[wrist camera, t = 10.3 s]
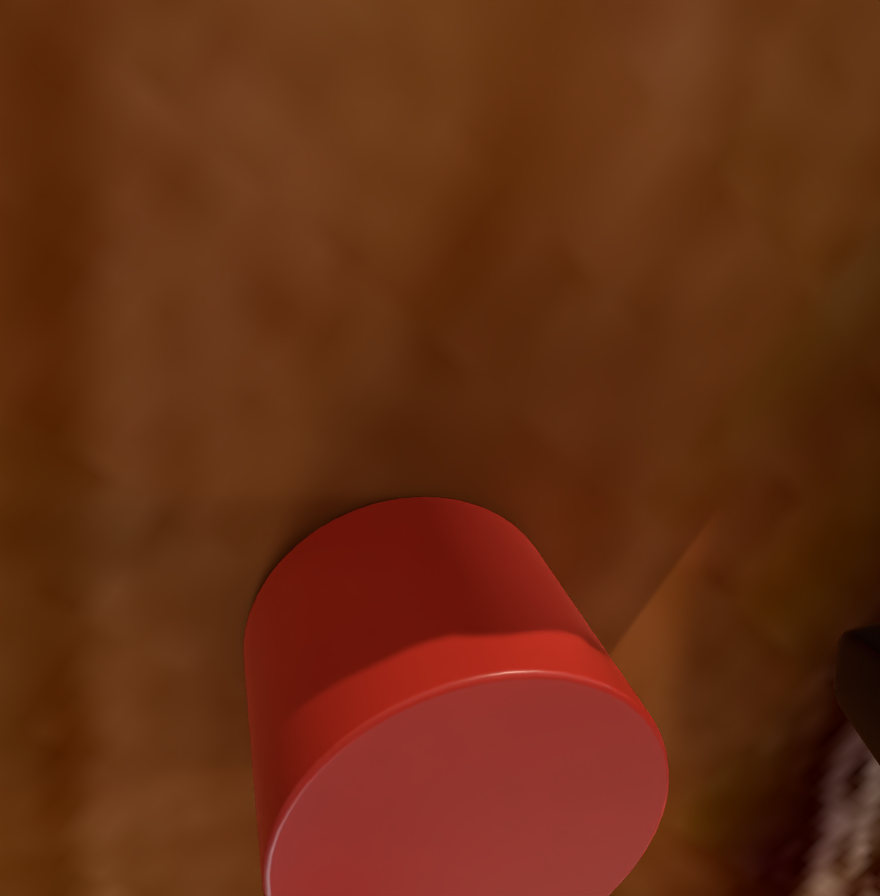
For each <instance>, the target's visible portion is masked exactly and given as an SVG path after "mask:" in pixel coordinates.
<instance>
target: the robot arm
mask: <svg viewBox="0 0 880 896" xmlns="http://www.w3.org/2000/svg"><path fill="white" fill-rule="evenodd" d="M834 692H835V696H836V699H837V701H838V703H839V706H840V707H841V709H842V711H843V712H844V714H845V715H846V717H847V718H848V719H849V721H850V722H851V724H852V725H853V727H854V728H855V730H856V731H857V733H858V734H859V736H860V737H861V739H862V740H863V741H864V743H865V744H866V746H867V747H868V749H869V750H870V752H871V753H872V755H873V756H874V758H875V759H876V761H877V762H878V763H879V765H880V623H878V622H873V623H868V624H865V625H862V626H859V627H856V628H853V629H850V630H847V631H845V632H843V634H842V635H841V637H840V638H839V642H838V651H837V659H836V668H835V676H834Z"/></svg>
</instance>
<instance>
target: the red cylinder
mask: <svg viewBox="0 0 880 896" xmlns="http://www.w3.org/2000/svg"><path fill="white" fill-rule="evenodd" d="M243 653H244V667H245V680H246V692H247V704H248V717H249V729H250V741H251V754H252V766H253V778H254V791H255V803H256V816H257V828H258V840H259V853H260V865H261V877H262V889H263V893H264V896H609V895H610V894H611V893H612V892H613V891H614V890H615V889H616V888H617V887H618V886H619V885H620V884H621V883H622V881H623V880H624V879H625V878H626V877H627V875H628V874H629V873H630V872H631V871H632V869H633V868H634V867H635V866H636V864H637V863H638V861H639V860H640V858H641V857H642V855H643V854H644V852H645V851H646V849H647V848H648V846H649V844H650V842H651V840H652V838H653V836H654V835H655V833H656V831H657V828H658V826H659V823H660V820H661V818H662V815H663V813H664V809H665V804H666V800H667V796H668V786H669V768H668V758H667V752H666V748H665V745H664V742H663V738H662V735H661V733H660V731H659V730H658V728H657V726H656V724H655V722H654V720H653V719H652V717H651V716H650V714H649V713H648V711H647V710H646V708H645V707H644V705H643V704H642V703H641V701H640V700H639V698H638V697H637V695H636V694H635V692H634V691H633V689H632V688H631V687H630V685H629V684H628V682H627V681H626V679H625V678H624V676H623V675H622V673H621V672H620V671H619V669H618V668H617V666H616V665H615V663H614V662H613V660H612V659H611V657H610V656H609V654H608V653H607V652H606V650H605V649H604V647H603V646H602V644H601V643H600V641H599V640H598V638H597V637H596V636H595V634H594V633H593V631H592V630H591V628H590V627H589V625H588V624H587V622H586V621H585V620H584V618H583V617H582V615H581V614H580V612H579V611H578V609H577V608H576V606H575V605H574V604H573V602H572V601H571V599H570V598H569V596H568V595H567V593H566V592H565V590H564V589H563V588H562V586H561V585H560V583H559V582H558V580H557V579H556V577H555V576H554V574H553V573H552V572H551V570H550V569H549V567H548V566H547V564H546V563H545V561H544V560H543V558H542V557H541V556H540V554H539V553H538V551H537V550H536V548H535V547H534V546H533V544H532V543H531V542H530V541H529V539H528V538H527V537H526V536H525V535H524V534H523V533H522V532H521V531H520V530H519V529H518V528H516V527H515V526H514V525H513V524H512V523H510V522H509V521H507V520H506V519H504V518H503V517H501V516H500V515H498V514H496V513H494V512H492V511H489V510H487V509H485V508H483V507H481V506H477V505H474V504H470V503H467V502H464V501H460V500H454V499H448V498H441V497H410V498H398V499H393V500H388V501H384V502H379V503H375V504H372V505H369V506H366V507H362V508H359V509H356V510H354V511H352V512H349V513H347V514H345V515H343V516H341V517H338V518H336V519H334V520H332V521H331V522H329V523H327V524H326V525H324V526H322V527H321V528H319V529H317V530H316V531H314V532H313V533H312V534H310V535H309V536H308V537H306V538H305V539H304V540H302V541H301V542H300V543H299V544H297V545H296V546H295V547H294V548H293V549H292V550H291V551H290V552H289V553H288V554H287V555H286V556H285V557H284V558H283V559H282V560H281V561H280V563H279V564H278V565H277V566H276V568H275V569H274V570H273V571H272V573H271V574H270V575H269V576H268V578H267V580H266V581H265V583H264V585H263V586H262V588H261V590H260V591H259V593H258V594H257V597H256V599H255V601H254V604H253V606H252V608H251V611H250V613H249V617H248V621H247V625H246V629H245V635H244V645H243Z"/></svg>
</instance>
